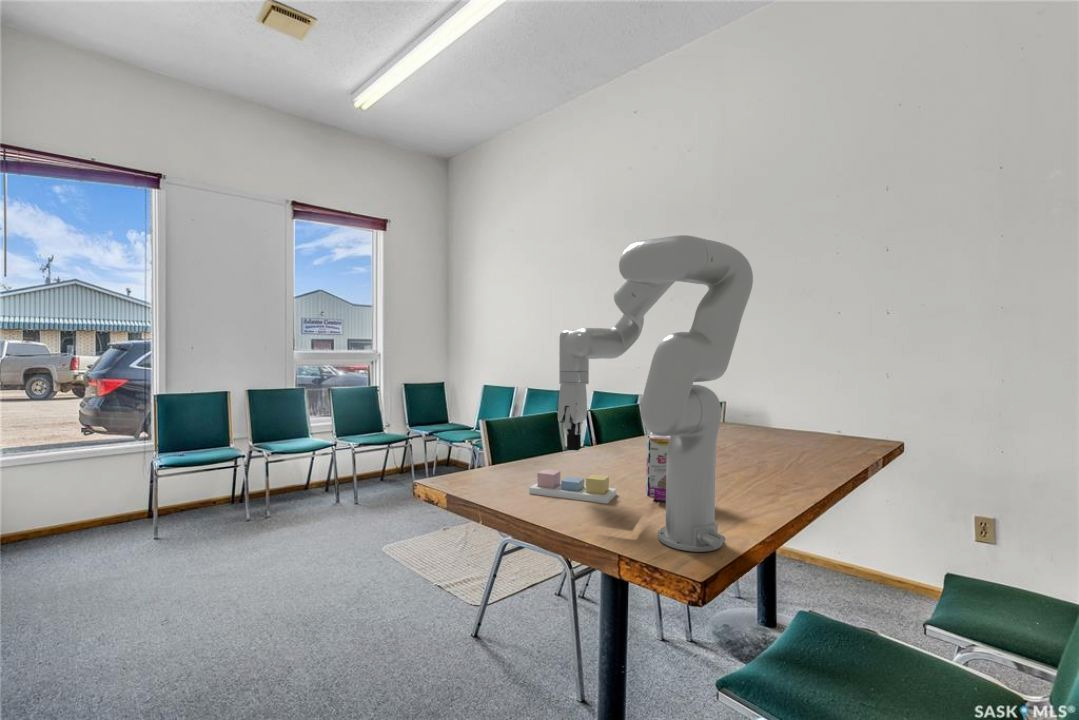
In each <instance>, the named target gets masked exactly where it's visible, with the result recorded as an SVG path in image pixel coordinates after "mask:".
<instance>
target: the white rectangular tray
mask: <svg viewBox="0 0 1079 720" xmlns="http://www.w3.org/2000/svg"><path fill="white" fill-rule="evenodd" d="M528 490H529V491H528V493H529V494H530V495H538V496H539V495H540V496H545V497H554V498H560V499H567V500H577V501H585V502H592V503H599V504H609V503H610V501H612V500H613V499H614V498H615V497H616V496H617V488H614V487H609V491H608V492H607V493H606V494H605V495H601V494H593V493H586V484H584V488H583V489H582V490H581V491H580V492H576V491H568V490H561V481H560V486H558V487H557V488H555V489H552V488H544V487H537V482H536V483H535V484H533V485H531V486H529V487H528Z"/></svg>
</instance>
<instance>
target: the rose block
mask: <svg viewBox="0 0 1079 720" xmlns="http://www.w3.org/2000/svg"><path fill="white" fill-rule="evenodd" d="M560 482H561V470H555V469H543V470H541V471H538V472H537V482H536V483H537V487H544V488H552V489H555V488H557V487H558V486H560Z"/></svg>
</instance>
